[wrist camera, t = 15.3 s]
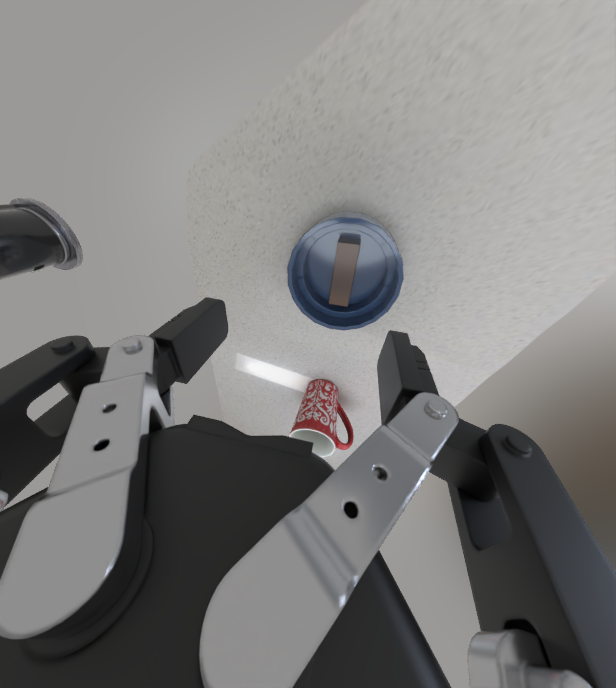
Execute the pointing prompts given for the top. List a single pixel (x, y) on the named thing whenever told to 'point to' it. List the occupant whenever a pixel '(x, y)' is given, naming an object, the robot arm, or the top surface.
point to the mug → (321, 419)
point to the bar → (344, 270)
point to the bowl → (369, 279)
